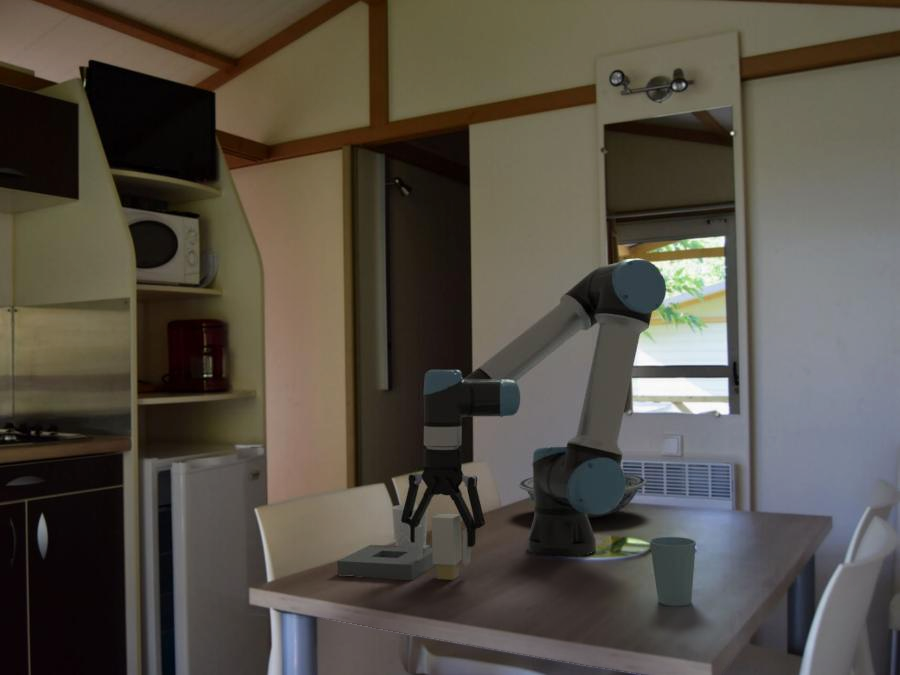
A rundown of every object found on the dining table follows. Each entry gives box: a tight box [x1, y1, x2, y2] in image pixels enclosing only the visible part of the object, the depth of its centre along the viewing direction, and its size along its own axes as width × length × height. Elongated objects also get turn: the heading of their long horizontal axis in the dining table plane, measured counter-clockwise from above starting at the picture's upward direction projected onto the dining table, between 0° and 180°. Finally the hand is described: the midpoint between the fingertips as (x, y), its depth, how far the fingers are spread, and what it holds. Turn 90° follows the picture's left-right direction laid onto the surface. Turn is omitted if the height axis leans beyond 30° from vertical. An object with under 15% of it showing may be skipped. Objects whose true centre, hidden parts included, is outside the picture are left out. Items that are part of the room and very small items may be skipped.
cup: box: [649, 536, 697, 607], centre depth 148 cm, size 8×8×10 cm
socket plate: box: [336, 544, 436, 581], centre depth 178 cm, size 16×16×4 cm
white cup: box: [392, 503, 428, 547], centre depth 194 cm, size 8×8×10 cm
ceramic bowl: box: [518, 473, 647, 518], centre depth 234 cm, size 34×34×10 cm
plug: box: [431, 513, 463, 581], centre depth 169 cm, size 4×4×12 cm
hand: (442, 561), depth 170 cm, fingers open, 9 cm apart
